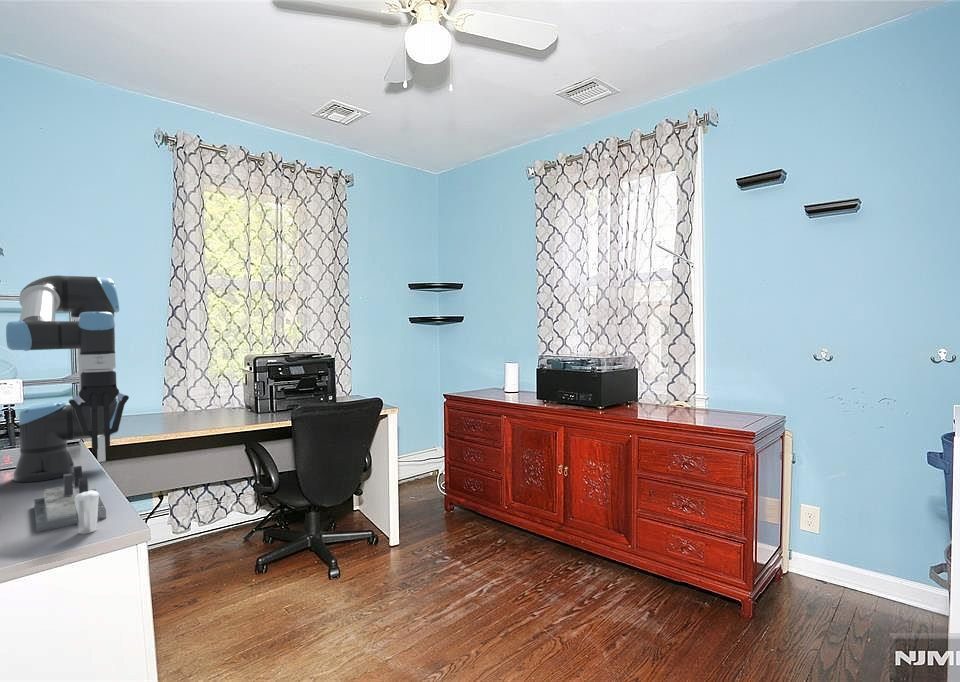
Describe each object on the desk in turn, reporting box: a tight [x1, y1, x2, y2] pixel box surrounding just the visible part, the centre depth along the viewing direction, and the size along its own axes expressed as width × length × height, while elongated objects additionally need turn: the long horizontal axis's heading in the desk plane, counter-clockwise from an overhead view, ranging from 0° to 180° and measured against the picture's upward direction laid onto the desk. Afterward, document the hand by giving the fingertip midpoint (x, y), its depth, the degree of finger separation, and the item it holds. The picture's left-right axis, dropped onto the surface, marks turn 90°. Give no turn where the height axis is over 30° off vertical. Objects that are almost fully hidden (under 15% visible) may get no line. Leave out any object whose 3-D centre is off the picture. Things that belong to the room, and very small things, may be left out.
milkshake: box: [72, 488, 100, 535], centre depth 119 cm, size 4×5×10 cm
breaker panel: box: [33, 465, 107, 533], centre depth 132 cm, size 24×13×10 cm, turn 41°
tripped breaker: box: [63, 473, 74, 495], centre depth 132 cm, size 3×2×5 cm, turn 41°
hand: (101, 460), depth 137 cm, fingers closed
